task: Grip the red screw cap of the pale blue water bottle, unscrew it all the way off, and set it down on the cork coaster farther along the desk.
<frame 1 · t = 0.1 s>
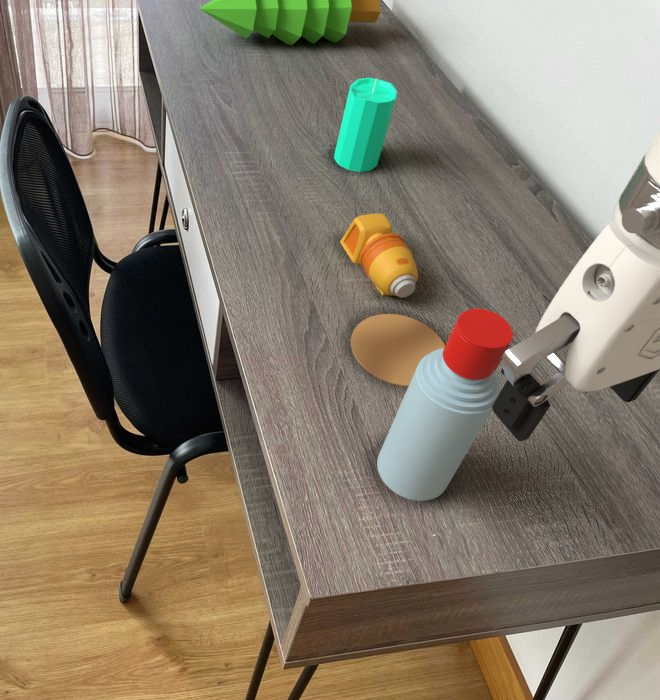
hand: (562, 405, 52), 16 cm above the table, tool pointing down, fingers open, 9 cm apart
yellow plastic toy: (376, 274, 85), on the table
cap: (483, 330, 53), point 19 cm above the table, screwed on, not yet turned
decorative tree: (283, 41, 123), on the table
coaster: (398, 351, 76), on the table
candle: (354, 162, 100), on the table
bottle: (411, 472, 66), on the table
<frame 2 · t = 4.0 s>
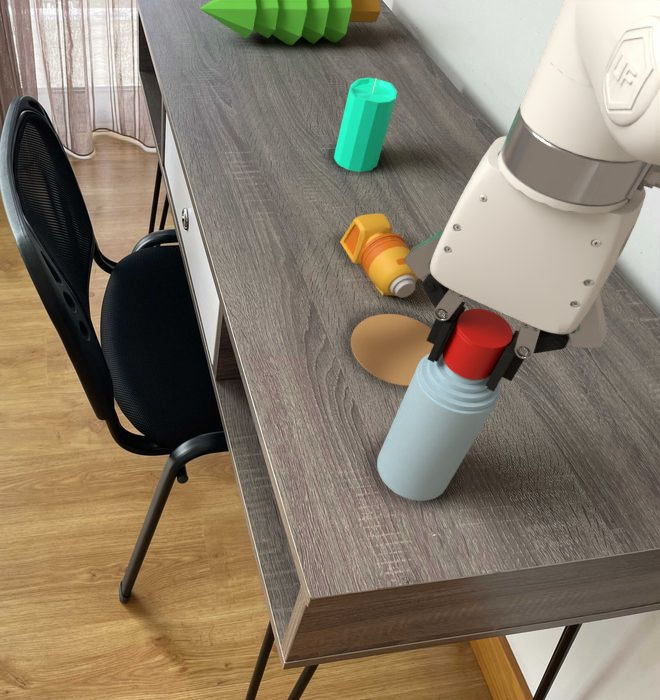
hand: (467, 362, 55), 15 cm above the table, tool pointing down, fingers closed on cap, 3 cm apart
cap: (483, 330, 53), point 19 cm above the table, screwed on, not yet turned, touching gripper
everything else where it was.
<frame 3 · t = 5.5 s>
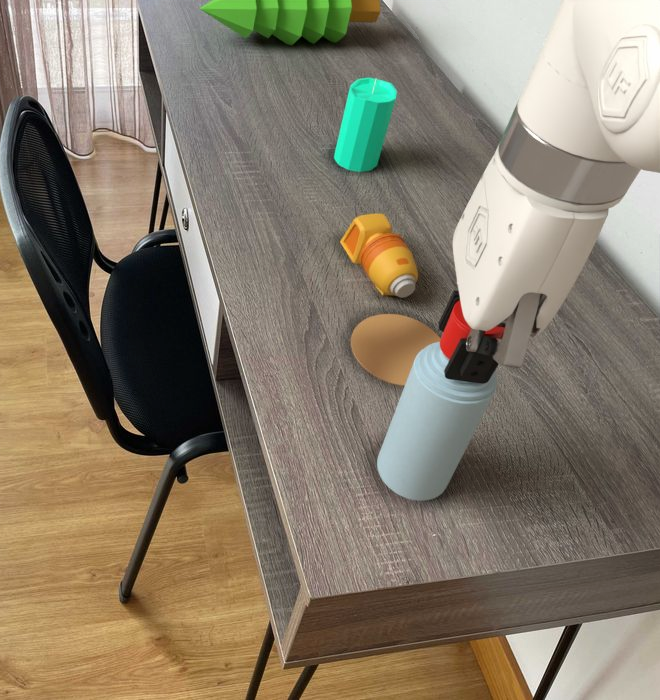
hand: (461, 352, 56), 15 cm above the table, tool pointing down, fingers closed on cap, 4 cm apart
cap: (479, 318, 53), point 19 cm above the table, turned 117° so far, risen 0.1 cm, still on its thread, touching gripper
bottle: (411, 471, 66), on the table, touching gripper
everything else where it was.
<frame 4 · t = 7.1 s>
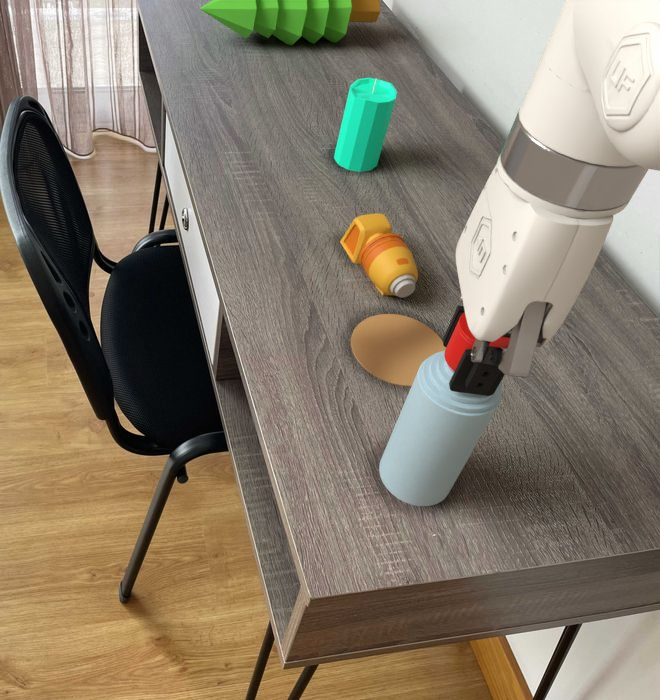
hand: (466, 366, 55), 15 cm above the table, tool pointing down, fingers closed on cap, 3 cm apart
cap: (485, 330, 52), point 19 cm above the table, turned 117° so far, risen 0.1 cm, still on its thread, touching gripper
bottle: (413, 477, 66), on the table
everything else where it was.
when the fingers open (2 cm above the table, at t = 25.8 s): cap drops 2 cm, resting on coaster.
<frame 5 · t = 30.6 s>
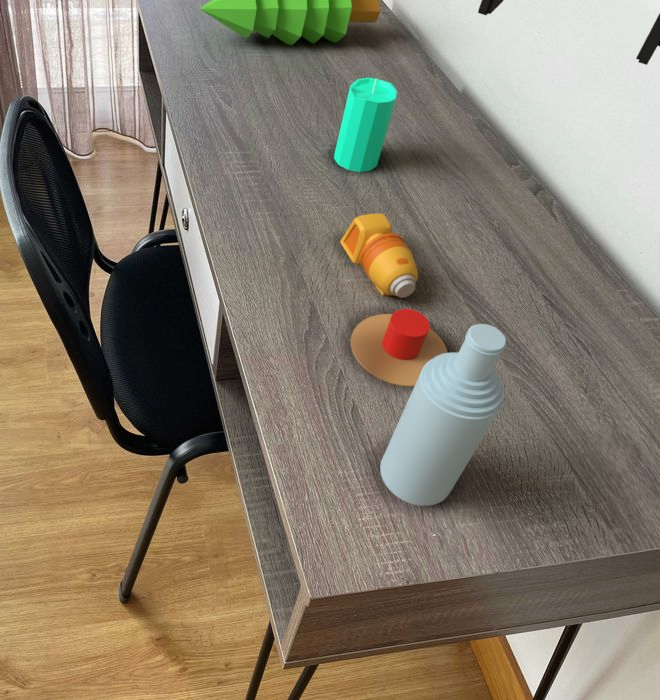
hand: (565, 30, 45), 36 cm above the table, tool pointing down, fingers open, 9 cm apart
cap: (409, 324, 74), point 4 cm above the table, off its thread, touching coaster
everything else where it was.
at the end: cap came off its thread; cap inside the target area on the coaster (0.4 cm from its centre), point 3.8 cm above the coaster's base; the gripper is holding nothing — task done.
